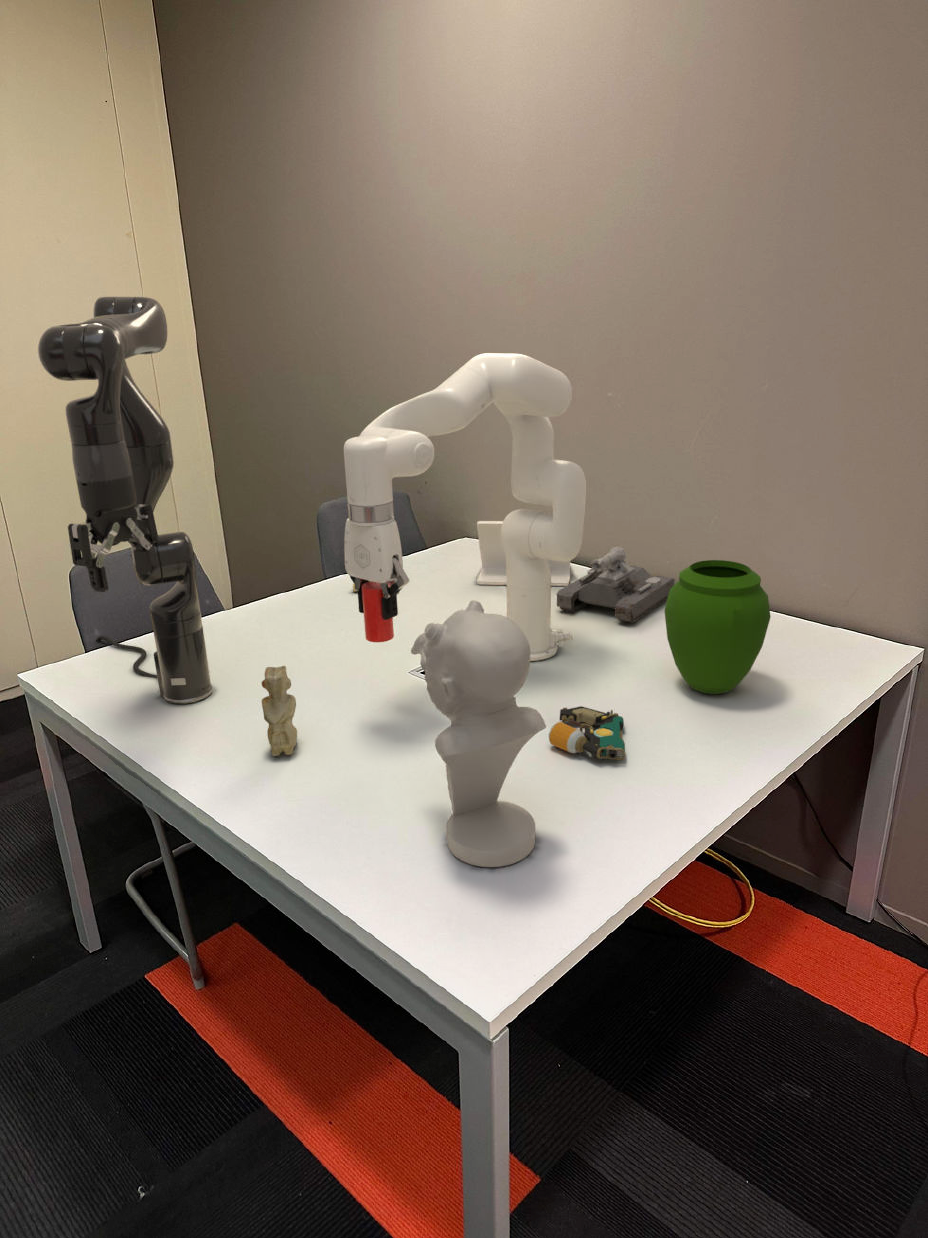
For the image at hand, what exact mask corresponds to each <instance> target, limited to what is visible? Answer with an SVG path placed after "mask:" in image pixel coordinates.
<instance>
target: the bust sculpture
mask: <svg viewBox="0 0 928 1238" xmlns="http://www.w3.org/2000/svg"><path fill="white" fill-rule="evenodd" d="M530 653H531V652H530V646H529V643H528V640H527V638H526V636H525V634H524V633H523V632H522V630H521V629H520V628H519V627H518V626H517V625H516V624H515V623H514V622H513V621H512V620H511V619H509V618H507V616H504V615H503V614H502V615H501V614H496V613H485V609H484V607H483V605H482V603H481V602H480V601H478V600H473V599H472V600H470V601H469V603H468V605H467V607H466V609H460V610H457V611H455V612H453V613H451V615H449V616H448V617H447V618H446V619H445V620H444V622H442V624H441V623H435V622H430V623H428V624H427V625H426V626H425V628H424V632H423V633H421V634H419V635H418V636H417V637H416V638H415V640H414V642H413V645H412V647H411V649H410V654H412V655H420V667H421V669H422V670H423V672H424V681H425V682H426V690H427V693H428V696H429V698H430V701H431V702H432V704H434V706H435V708H436V710H438V711H439V712H440V713H441V714H442V716H446V717H447V718H448V719H449V720H450V726H448V727H446V728H445V729H443V730H442V731H441V732H440V733H439V734H438V735H436V738H435V741H434V748H435V749H436V752H437V753H438V755H439V757H440V758H441V760H442V761H443V762H444V763H445V771H446V781H447V790H448V796H449V800H450V803H451V810H452V813H451V814H450V815H449V817H448V819H447V822H446V844H447V847H448V849H449V851H450V852H451V854H452V855H453V856H454V857H456V858H457V859H459V860H460V861H462V862H463V863H466V864H469V865H471V866H476V867H483V868H498V867H505V866H509V865H512V864H517V862H520V861H521V860H523V859H525V858H527V856H528V855H530V854H531V852H532V851H533V849H535V848H534V847H535V845H536V822H535V821H536V820H535V819H534V817H533V816H532V814H531V813H530V812H529V811H528V810H526V809H525V808H524V807H522V806H520V805H517V804H515V803H513V802H509V801H504V800H499V796H500V793H501V790H502V788H503V785H504V783H505V780H506V778H507V776H508V773H509V771H510V769H511V768H512V765H513V763H514V761H515V760H516V759H517V756H518V755H519V753H520V752H521V750H522V749H523V748H524V747H525V745H526V744H527V743H528V742H529V741H530V740H531V739H532V738H533V737H535V735H537V734H538V733H539V732H541V731H544V730H545V729H546V728H547V725H546V723H545V720H544V718H543V717H542V714H541V713H540V712H539V711H538V710H537V709H535V708H533V707H530V706H518V705H517V701H516V699H517V698H516V696H515V695H516V694H517V693H519V691H521V689H522V688H523V686H524V684H525V683H526V680H527V678H528V675H529V669H530V666H531V661H530V656H531V655H530Z"/></svg>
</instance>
